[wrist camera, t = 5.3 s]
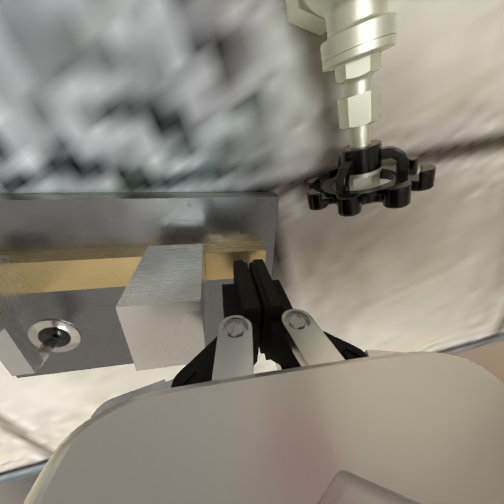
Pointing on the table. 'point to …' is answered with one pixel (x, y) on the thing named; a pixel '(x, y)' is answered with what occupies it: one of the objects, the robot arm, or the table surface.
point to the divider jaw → (166, 307)
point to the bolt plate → (119, 230)
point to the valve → (358, 106)
